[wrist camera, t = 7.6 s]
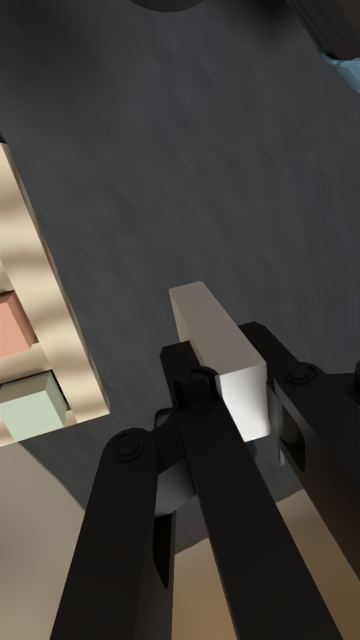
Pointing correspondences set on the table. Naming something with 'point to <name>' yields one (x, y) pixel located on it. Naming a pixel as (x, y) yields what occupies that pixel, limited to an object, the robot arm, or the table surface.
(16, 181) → the key console
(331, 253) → the table surface
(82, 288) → the table surface
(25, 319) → the terracotta key
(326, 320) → the table surface
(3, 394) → the sage key
